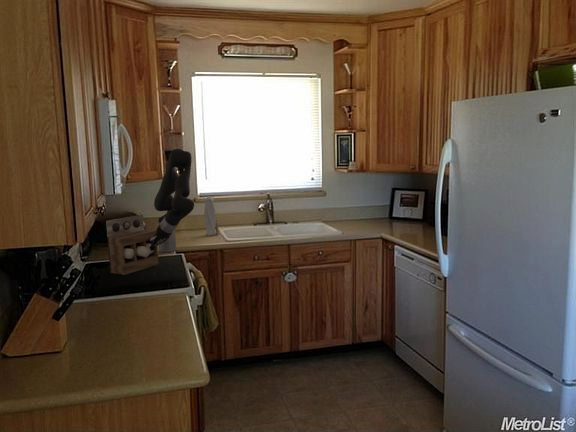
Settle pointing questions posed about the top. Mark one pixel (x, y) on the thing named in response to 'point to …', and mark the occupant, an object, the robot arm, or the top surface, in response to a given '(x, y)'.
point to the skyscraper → (210, 217)
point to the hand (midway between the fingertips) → (151, 249)
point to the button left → (128, 253)
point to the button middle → (142, 251)
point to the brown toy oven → (129, 244)
